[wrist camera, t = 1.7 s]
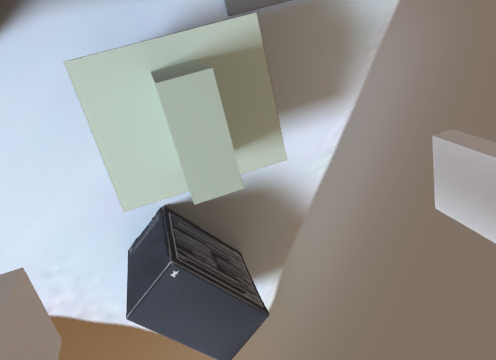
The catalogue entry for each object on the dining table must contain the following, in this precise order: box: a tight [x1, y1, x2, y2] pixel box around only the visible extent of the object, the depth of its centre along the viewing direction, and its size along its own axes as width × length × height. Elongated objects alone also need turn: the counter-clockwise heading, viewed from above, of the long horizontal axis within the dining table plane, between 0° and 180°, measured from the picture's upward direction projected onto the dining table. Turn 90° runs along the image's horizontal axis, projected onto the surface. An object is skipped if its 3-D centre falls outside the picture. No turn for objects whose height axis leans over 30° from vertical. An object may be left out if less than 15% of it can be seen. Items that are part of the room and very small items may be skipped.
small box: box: [126, 207, 269, 360], centre depth 37 cm, size 11×6×10 cm, turn 50°
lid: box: [64, 13, 287, 212], centre depth 26 cm, size 11×13×8 cm
